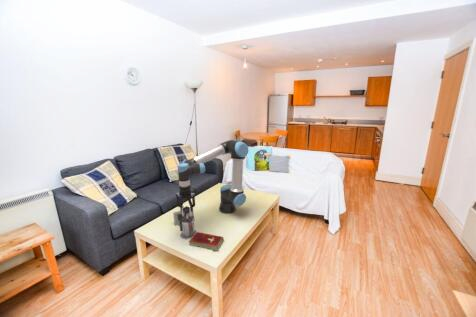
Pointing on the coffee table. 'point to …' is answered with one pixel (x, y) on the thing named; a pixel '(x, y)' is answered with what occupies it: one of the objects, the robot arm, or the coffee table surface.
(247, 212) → the coffee table surface
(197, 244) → the hardcover book
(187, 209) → the ball knob lever
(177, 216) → the digital clock
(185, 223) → the grey blocky piece
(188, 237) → the trivet
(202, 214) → the coffee table surface
